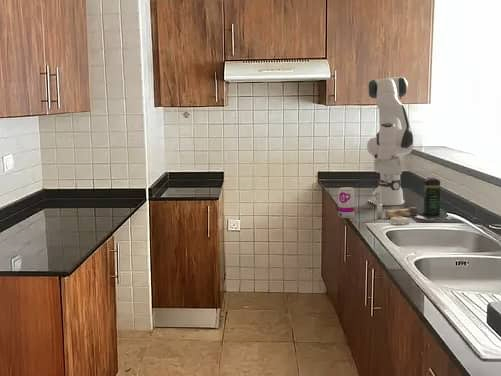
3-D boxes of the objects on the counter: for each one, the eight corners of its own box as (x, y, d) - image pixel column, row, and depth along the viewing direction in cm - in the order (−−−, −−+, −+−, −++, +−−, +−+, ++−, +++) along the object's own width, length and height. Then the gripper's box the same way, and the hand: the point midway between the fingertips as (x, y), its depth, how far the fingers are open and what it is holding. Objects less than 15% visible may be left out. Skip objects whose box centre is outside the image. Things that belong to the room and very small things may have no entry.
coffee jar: (441, 215, 293) (441, 178, 291) (425, 215, 294) (425, 178, 292) (438, 211, 302) (438, 176, 300) (423, 211, 304) (423, 176, 301)
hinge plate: (403, 215, 296) (403, 214, 296) (413, 214, 298) (413, 213, 298) (425, 220, 279) (425, 220, 279) (436, 219, 281) (436, 218, 281)
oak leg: (413, 213, 297) (413, 206, 297) (418, 214, 293) (418, 208, 293) (384, 216, 291) (384, 209, 291) (389, 217, 287) (389, 211, 287)
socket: (390, 222, 277) (390, 217, 277) (401, 221, 280) (401, 216, 279) (397, 224, 272) (397, 219, 271) (409, 223, 274) (409, 218, 273)
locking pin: (375, 218, 291) (375, 204, 290) (380, 217, 292) (380, 204, 291) (378, 219, 289) (378, 205, 288) (383, 218, 289) (383, 204, 289)
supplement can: (351, 218, 292) (350, 189, 290) (336, 217, 296) (335, 188, 294) (357, 216, 299) (356, 187, 297) (342, 215, 303) (341, 186, 301)
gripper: (405, 156, 285) (405, 184, 286) (382, 154, 304) (382, 180, 305) (394, 156, 283) (394, 185, 284) (371, 154, 302) (372, 181, 303)
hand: (388, 182), depth 295 cm, fingers closed
